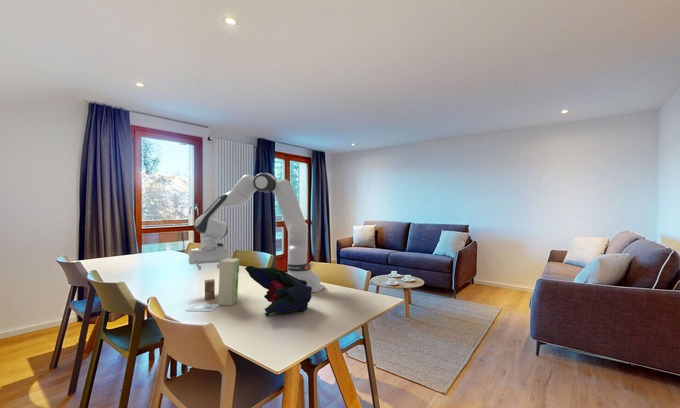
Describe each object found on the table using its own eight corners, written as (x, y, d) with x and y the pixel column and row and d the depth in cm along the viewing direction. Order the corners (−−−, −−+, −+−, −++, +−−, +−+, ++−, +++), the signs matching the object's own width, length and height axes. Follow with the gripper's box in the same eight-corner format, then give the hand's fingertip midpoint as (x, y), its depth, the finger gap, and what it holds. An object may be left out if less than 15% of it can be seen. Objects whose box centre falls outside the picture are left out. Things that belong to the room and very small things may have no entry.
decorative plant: (303, 335, 130) (233, 327, 120) (296, 296, 153) (237, 286, 142) (320, 298, 125) (248, 286, 114) (310, 263, 148) (250, 250, 137)
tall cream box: (233, 305, 141) (234, 261, 141) (217, 305, 141) (219, 261, 141) (239, 300, 149) (240, 258, 149) (224, 299, 149) (226, 258, 149)
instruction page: (220, 305, 142) (220, 304, 142) (211, 311, 133) (211, 311, 133) (196, 304, 143) (196, 303, 143) (185, 310, 134) (185, 310, 134)
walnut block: (214, 296, 155) (214, 279, 155) (214, 298, 151) (214, 281, 151) (204, 297, 153) (204, 280, 153) (204, 300, 149) (204, 282, 149)
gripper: (188, 246, 164) (187, 267, 155) (227, 244, 172) (229, 263, 164) (188, 252, 168) (187, 273, 159) (227, 250, 176) (228, 270, 168)
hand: (209, 268), depth 161 cm, fingers open, 8 cm apart
